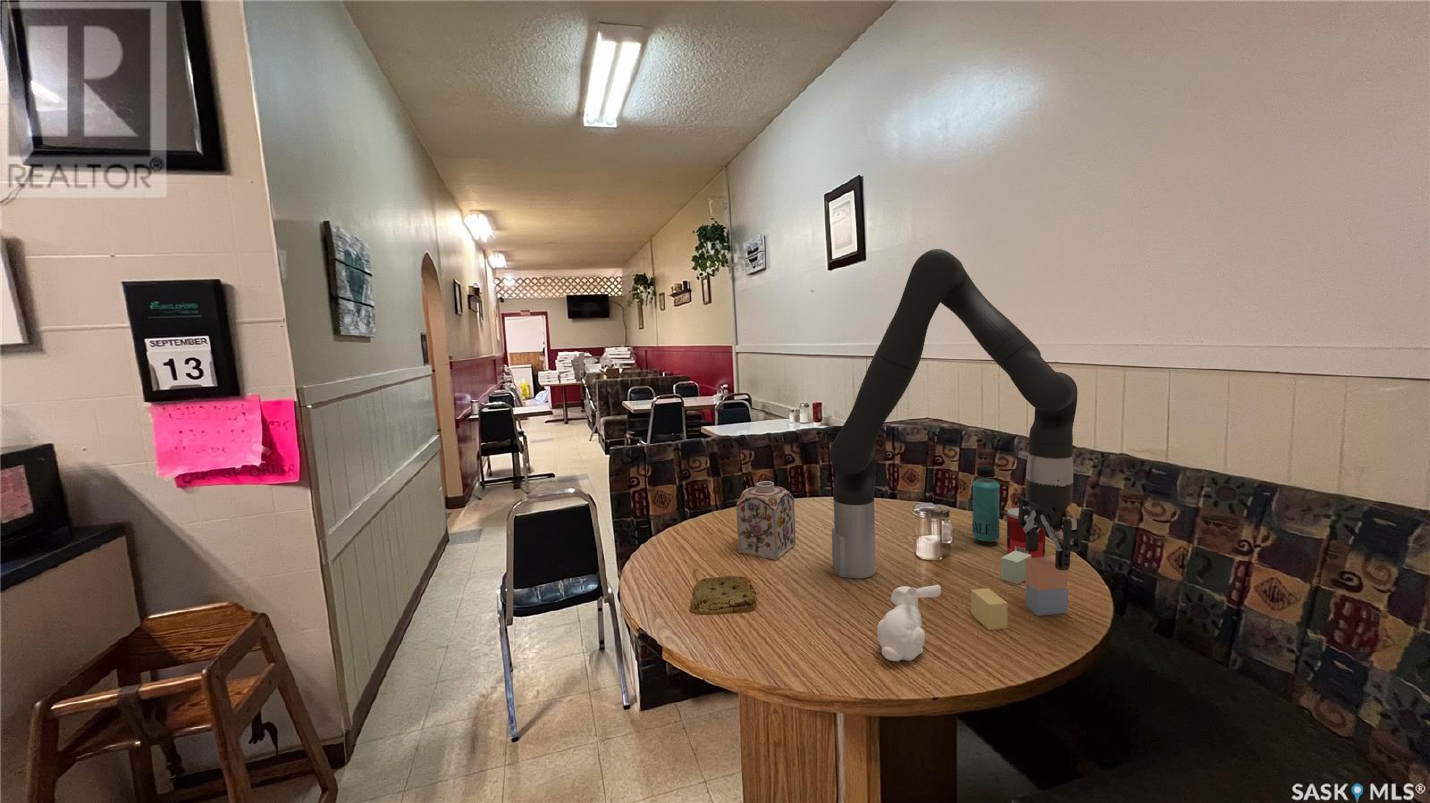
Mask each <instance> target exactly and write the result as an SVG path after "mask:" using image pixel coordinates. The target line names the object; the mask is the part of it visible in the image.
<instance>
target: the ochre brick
mask: <svg viewBox="0 0 1430 803" xmlns="http://www.w3.org/2000/svg"><path fill="white" fill-rule="evenodd" d="M970 591H971V592H970V605H971V607H970V612H971V613H970V614H971V615H972V616H973V617H974V618H975V619H976V620H977V621H978V622H979V623H981V624H982V625H983V626H984V627H985V628H986V629H987V630H988V631H994V630H1002V629H1008V606H1009V605H1008V604H1009V603H1008V602H1007V601H1005V600H1004V599H1003V598H1002V597H1000V596H999V595H998V594H997V593H996V592H994V591H993V590H991V589H990V588H989V587H986V588H977V589H971V590H970Z"/></svg>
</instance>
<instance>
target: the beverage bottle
mask: <svg viewBox="0 0 1430 803" xmlns="http://www.w3.org/2000/svg"><path fill="white" fill-rule="evenodd" d="M976 475H977V477H982V478H977V479H976V480H974V481H973V483H972V498H971V499H972V503H971V504H972V514H971V516H972V521H971V522H972V524H971V525H972V526H971V527H972V529H971V532H972V536H973V538H975V539H976V540H979V541H982V542H996V541H999V539H1000V527H1001V525H1000V487H1001V485H1000V484H999V482H997V481H996V479H993V478H994V477H996V470H995V468H994V467H992V466H978V467H977V473H976ZM991 478H992V479H991Z"/></svg>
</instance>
